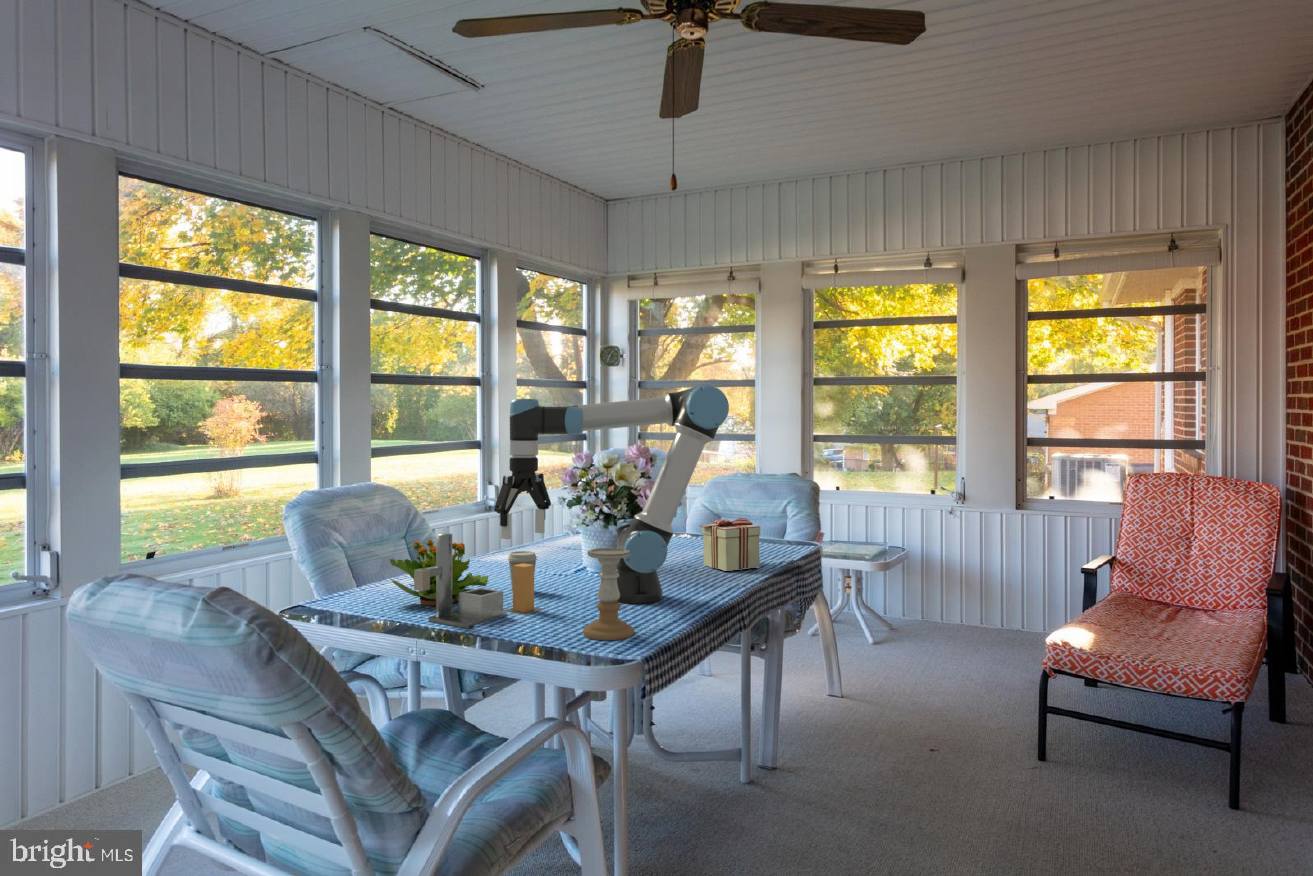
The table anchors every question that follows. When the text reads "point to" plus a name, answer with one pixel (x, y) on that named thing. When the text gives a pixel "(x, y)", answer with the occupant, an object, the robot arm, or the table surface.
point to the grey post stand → (471, 603)
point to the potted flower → (430, 561)
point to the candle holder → (608, 598)
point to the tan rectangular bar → (523, 587)
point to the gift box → (731, 544)
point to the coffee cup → (521, 560)
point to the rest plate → (523, 612)
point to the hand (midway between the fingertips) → (523, 535)
